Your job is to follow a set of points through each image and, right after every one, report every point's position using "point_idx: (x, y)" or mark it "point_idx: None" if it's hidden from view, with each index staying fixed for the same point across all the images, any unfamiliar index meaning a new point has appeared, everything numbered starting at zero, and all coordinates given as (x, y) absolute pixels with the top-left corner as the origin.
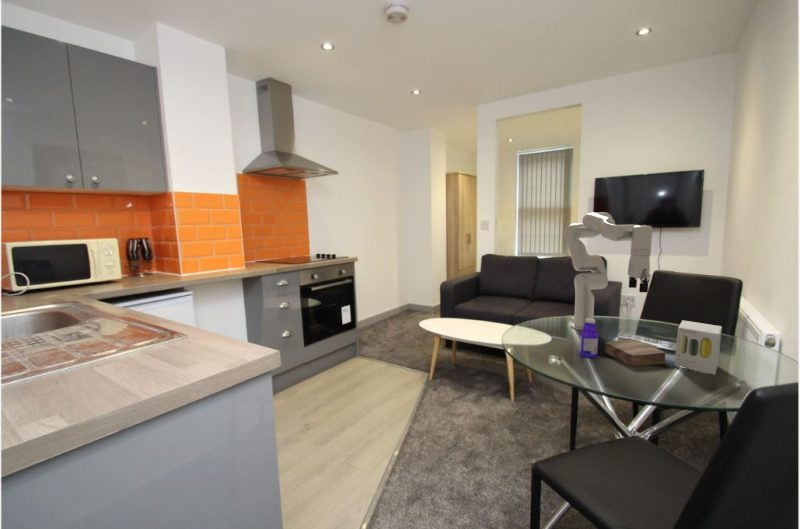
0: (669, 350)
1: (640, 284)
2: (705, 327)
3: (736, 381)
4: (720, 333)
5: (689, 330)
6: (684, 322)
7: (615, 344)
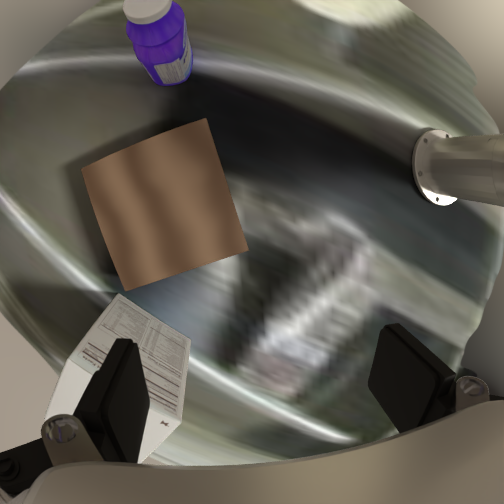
0: (247, 341)
1: (85, 400)
2: None
3: None
4: None
5: (59, 376)
6: None
7: (182, 147)
